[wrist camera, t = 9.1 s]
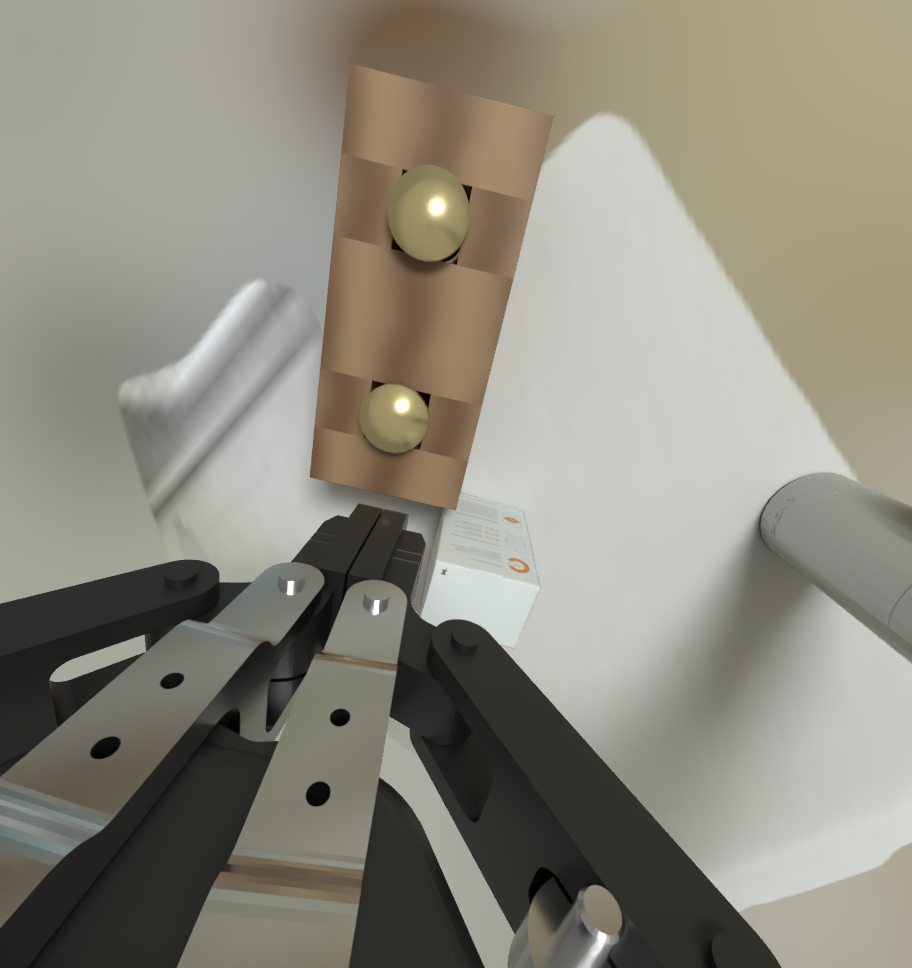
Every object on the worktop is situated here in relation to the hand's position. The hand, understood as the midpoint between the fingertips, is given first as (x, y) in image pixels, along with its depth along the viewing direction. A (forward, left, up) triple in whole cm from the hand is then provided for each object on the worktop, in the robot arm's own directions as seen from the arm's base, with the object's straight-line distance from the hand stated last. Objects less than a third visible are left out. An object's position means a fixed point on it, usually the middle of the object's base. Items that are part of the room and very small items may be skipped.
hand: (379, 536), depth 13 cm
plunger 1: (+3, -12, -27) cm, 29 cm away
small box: (-6, +13, -28) cm, 31 cm away
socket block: (+3, -5, -28) cm, 28 cm away
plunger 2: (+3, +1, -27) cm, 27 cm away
